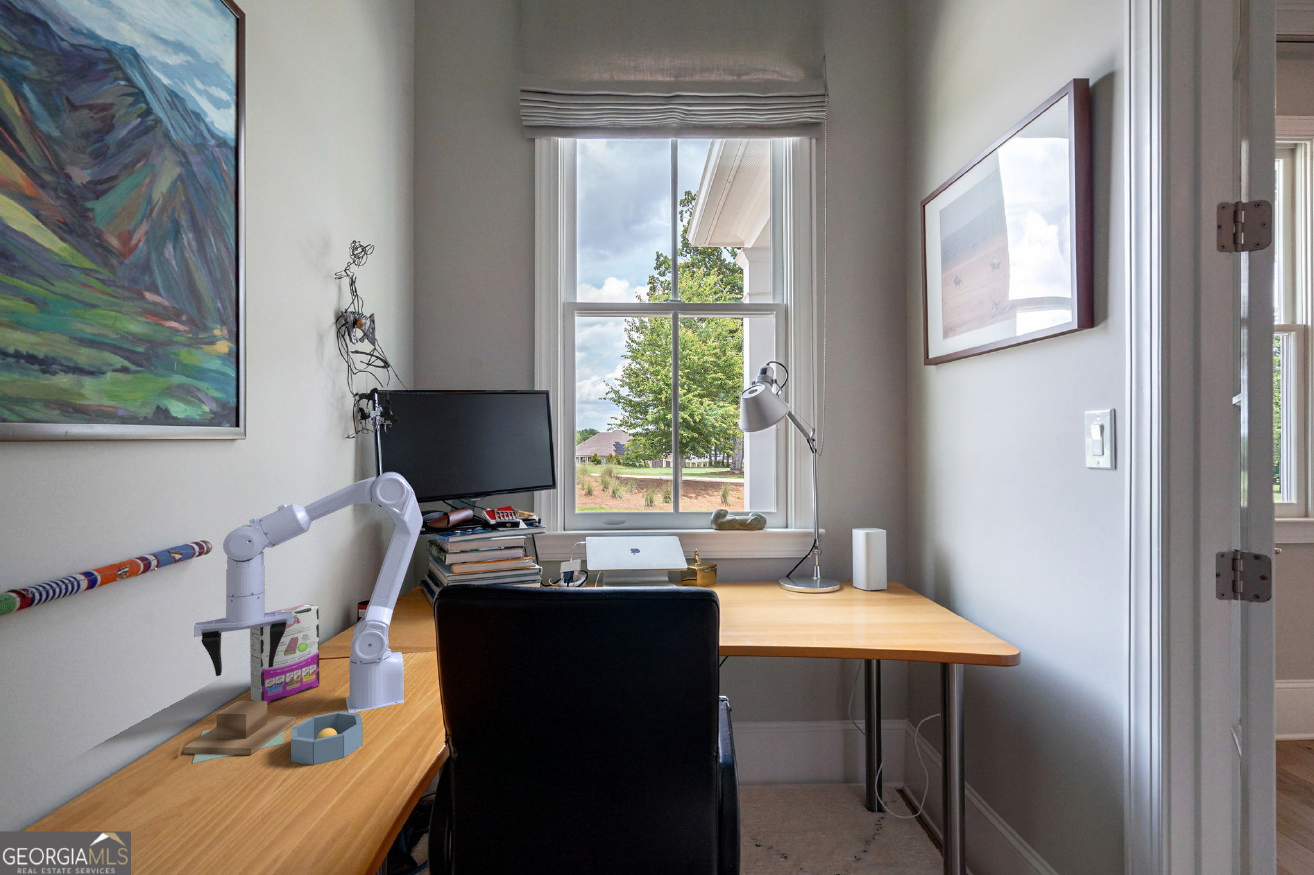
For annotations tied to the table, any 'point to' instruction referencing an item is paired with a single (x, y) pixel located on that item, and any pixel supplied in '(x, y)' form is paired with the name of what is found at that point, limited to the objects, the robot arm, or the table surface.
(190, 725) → the table surface
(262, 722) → the lid
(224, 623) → the robot arm
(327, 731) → the orange ball
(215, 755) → the mat
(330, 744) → the bowl
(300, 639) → the candy bar box
